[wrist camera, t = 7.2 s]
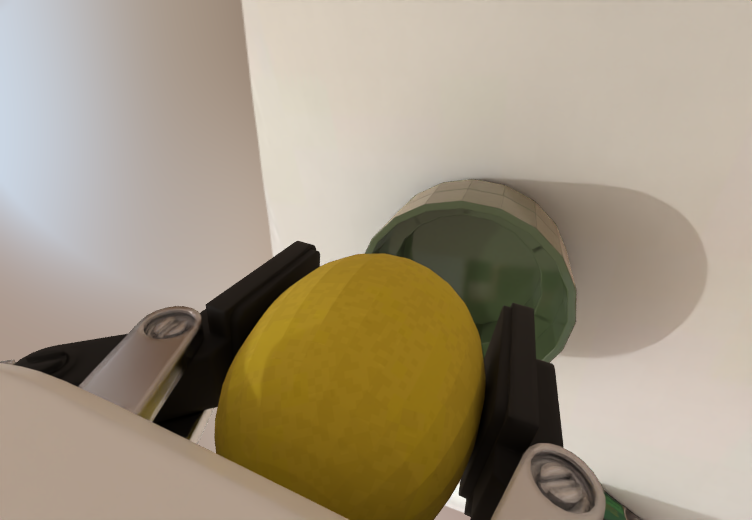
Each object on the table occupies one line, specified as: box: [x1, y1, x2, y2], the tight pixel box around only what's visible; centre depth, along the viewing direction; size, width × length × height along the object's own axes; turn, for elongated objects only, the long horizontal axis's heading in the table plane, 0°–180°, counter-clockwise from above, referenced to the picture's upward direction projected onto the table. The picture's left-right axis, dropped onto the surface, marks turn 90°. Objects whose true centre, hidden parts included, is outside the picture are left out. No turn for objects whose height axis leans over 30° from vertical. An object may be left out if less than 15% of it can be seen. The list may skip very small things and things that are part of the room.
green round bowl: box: [365, 179, 576, 363], centre depth 28 cm, size 15×15×6 cm
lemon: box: [215, 253, 486, 520], centre depth 8 cm, size 6×6×8 cm
